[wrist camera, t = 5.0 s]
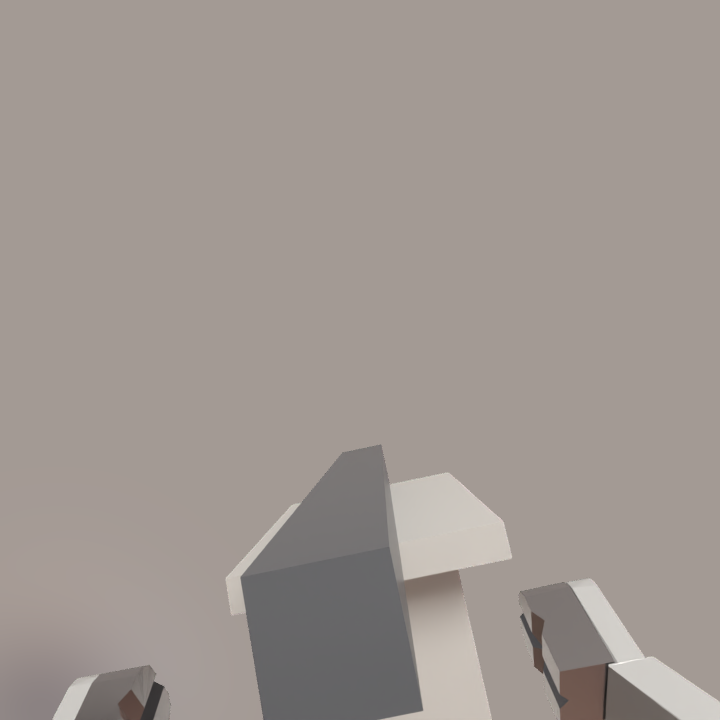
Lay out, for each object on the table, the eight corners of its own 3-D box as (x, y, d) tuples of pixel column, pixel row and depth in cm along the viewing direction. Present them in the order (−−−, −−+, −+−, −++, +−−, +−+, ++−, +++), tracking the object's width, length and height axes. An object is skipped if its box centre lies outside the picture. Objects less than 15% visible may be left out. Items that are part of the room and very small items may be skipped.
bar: (267, 742, 8) (240, 577, 8) (350, 492, 32) (342, 452, 32) (423, 710, 8) (389, 546, 8) (389, 484, 32) (381, 444, 32)
